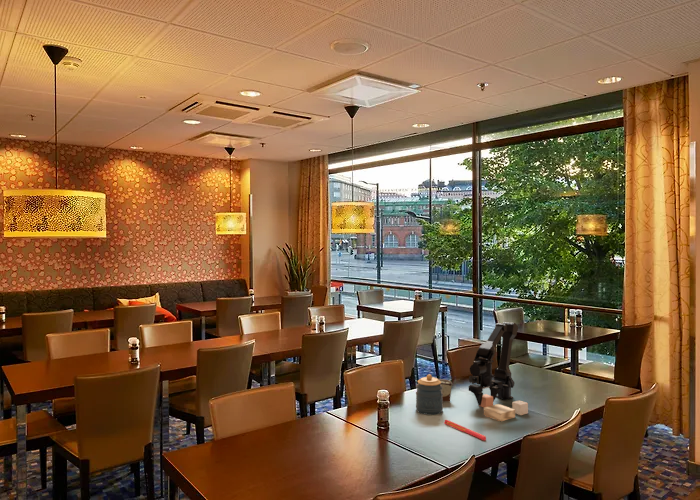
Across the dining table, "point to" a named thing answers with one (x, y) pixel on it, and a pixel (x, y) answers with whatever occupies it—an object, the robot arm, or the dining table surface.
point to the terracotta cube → (486, 400)
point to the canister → (429, 396)
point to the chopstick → (465, 430)
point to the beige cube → (520, 407)
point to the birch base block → (499, 412)
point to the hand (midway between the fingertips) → (485, 403)
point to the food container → (446, 389)
